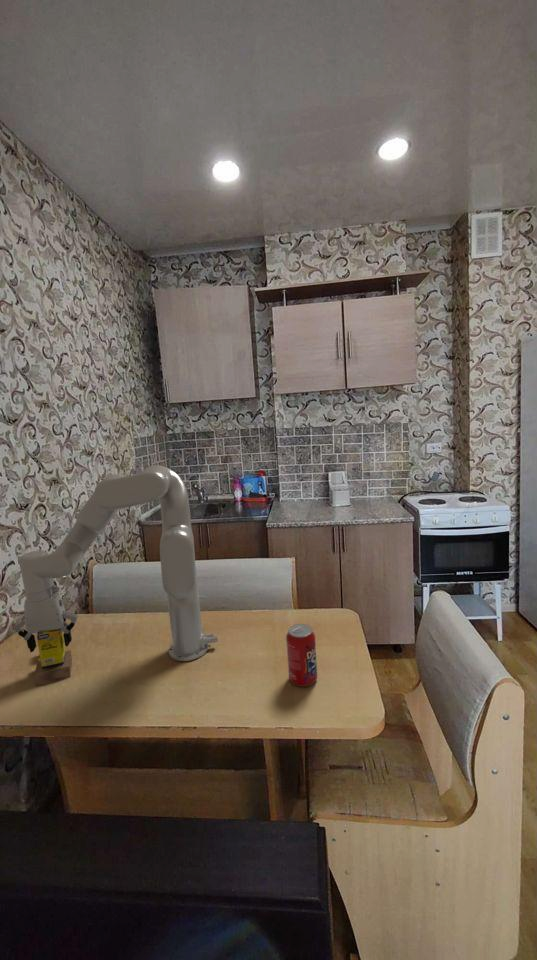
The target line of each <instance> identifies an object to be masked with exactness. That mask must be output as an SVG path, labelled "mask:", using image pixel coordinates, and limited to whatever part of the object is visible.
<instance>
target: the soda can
mask: <svg viewBox="0 0 537 960" xmlns="http://www.w3.org/2000/svg"><path fill="white" fill-rule="evenodd" d="M287 631H288V632H286V637H285V638H286V639H285V641H286V657H287V658H286V659H287V669H288V670H287V671H288V679H289V681H290V682H291V683H292V684H293V685H295V686H298V687H308V686H310V685H313V684H314V683H315V682H316V681H317V678H318V666H317V665H318V663H317V648H316V647H317V644H316V635H315V632H314V631H313V628H312V627H311V626H310V625H309V624H304V623H298V624H297V623H296V624H293V625H291V626H290V627H289V628H288V630H287Z"/></svg>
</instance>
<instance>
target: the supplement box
mask: <svg viewBox="0 0 537 960" xmlns="http://www.w3.org/2000/svg"><path fill="white" fill-rule="evenodd" d="M63 634H64V632H63V631H61V630H60V629H57V630H51V631H45V632H39V633H36V641H37V646H38V653H39V658H40V659H41V666H42V669H44V668H49V667H53V666H58V665H62V664H64V658H65V655H66V651H67V650H66V646H65V642H64V637H63Z"/></svg>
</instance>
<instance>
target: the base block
mask: <svg viewBox="0 0 537 960" xmlns="http://www.w3.org/2000/svg"><path fill="white" fill-rule="evenodd" d="M72 665H73V657H72V652H71V650H70V649H69V650H66V655H65V658H64V664H62V665H58V666H53V667H49V668H44V669H42V666H41V659H40V657H38V659H37V662H36V666H35V672H34V675H33V676H34V681H35V685H36V686H35V687H39V686H43V685H46V684H50V683H54V682H58V681H61V680H65V679H68V678H71V677H72Z"/></svg>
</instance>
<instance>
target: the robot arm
mask: <svg viewBox="0 0 537 960" xmlns="http://www.w3.org/2000/svg"><path fill="white" fill-rule="evenodd" d="M187 490H188V489H187V486H186V485H185V482H184V481H183V480H182V478H181V476H180V475H178V474H177V473H176V471H174V470H173V469H171V468H169V467H167V466H164V465H160V464H152V465H150V466H148V467H146V468H145V469H144V470H143V471H142V472H140V473H136V474H130V475H125V476H122V475H120V474H114V473H113V474H110V475H107V476H105V477H103V479H102V480H100V481H99V482H98V483H97V485H95V489H94V491H93V493H91V496H90V497H89V498H88V500H87V501H86V503H85V504H84V505H83V506H82V508H81V510H79V512H78V513H77V516H76V520H75V523H74V524H73V526H72V528H71V529H70V531H69V532H68V534H67V535H66V536H65V538H64V539H63V541H62V542H61V543H60V544H59V546H58V547H57V548H56V549H55V550H54V551H53V552H51V553H48V552H47V551H46V550H33V551H32V550H31V551H30V552H29V551H28V552H27V553H24V554H23V555H21V556H20V557H19V561H18V562H19V563H18V564H19V568H20V575H21V578H22V584H23V589H24V593H25V601H24V606H23V609H24V614H23V616H24V619H22V620H20V621H19V622H18V623H16V624H15V625H14V626H13V629H14V630H15V632H16V633H17V635H19V637H22V638H23V640H25V641H26V646H27V649H29V652H30V653H33V652H34V651H35V649H36V648H37V642H36V641H37V640H36V638H35V637H36V636H35V634H37V633H39V632H45V631H51V630H57V629H60V630H61V631H63V638H64V644H65V647H68V646H69V645H70V643H71V642H72V639H73V637H72V633H71V631H72V629H73V628H74V627H75V625H76V623H77V620H78V615H77V614H74V613H70V612H66V610H65V606H64V602H63V600H62V597H61V595H60V593H59V592H61V587H60V586H58V587H57V586H56V585H55V581H54V579H62V578H67V577H69V576H71V574H73V572H74V571H75V569H76V568H77V566H78V564H79V563H80V562H81V560H82V559H83V557H84V556H85V555H86V553H87V551H88V550H89V549H90V547H91V546H92V545H93V543H94V542H95V541H96V539H97V538H98V536H100V534H102V533H103V532H104V531H105V530H106V528H107V527H108V526H109V524H110V523H111V521H112V520H113V518H114V517H115V515H117V513H118V511H119V510H120V509H121V510H122V509H125V508H131V507H136V506H140V505H144V504H148V503H153V502H156V501H158V500H159V503H160V514H161V515H160V516H161V535H160V542H159V558H160V559H159V560H160V571H161V580H162V581H161V582H162V583H161V584H162V588H163V591H164V592H165V594H166V598H167V606H168V607H167V608H168V617H169V624H170V632H171V641H172V643H171V644H170V645H169V647H168V656H169V657H170V658H171V659H172V660H174V661H177V662H188V661H189V662H190V661H194V660H197V659H198V658H201V657H202V656H204V655H205V654H206V653H207V652H208V650H209V646H210V645H209V644H212V643H213V644H214V643H217V642H219V640H218V635H214V633H213V632H211V633H207V634H206V633H204V629H203V626H202V617H201V615H202V614H201V605H200V597H199V587H198V586H199V585H198V576H197V575H198V574H197V567H196V554H195V553H196V552H195V539H194V538H195V537H194V534H193V529H192V520H191V519H192V518H191V517H192V516H191V511H190V510H191V509H190V508H191V507H190V499H189V494H188V491H187ZM67 620H70V623H68V622H67ZM23 626H25V629H24V628H23Z"/></svg>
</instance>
